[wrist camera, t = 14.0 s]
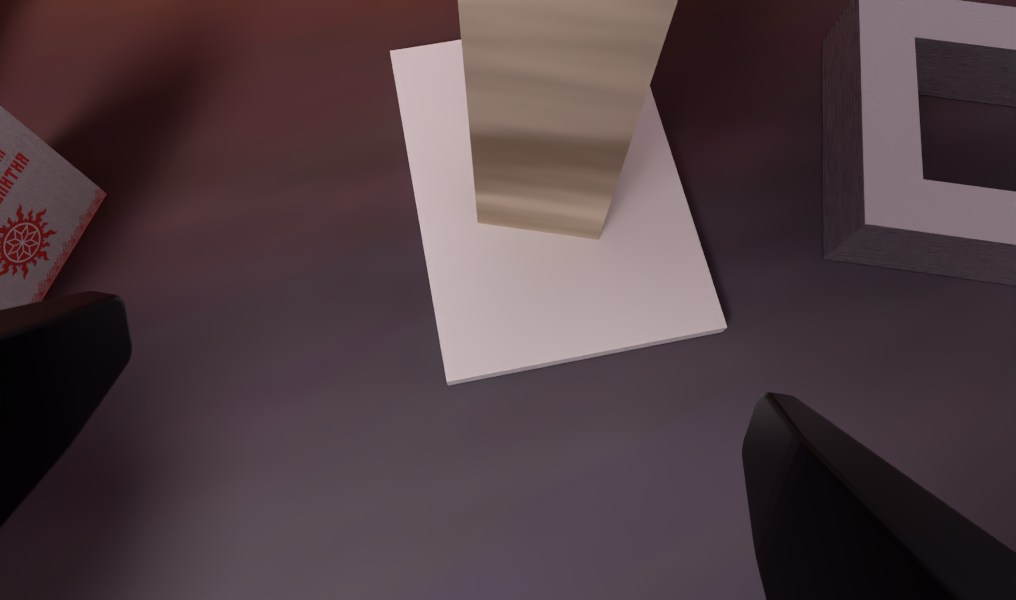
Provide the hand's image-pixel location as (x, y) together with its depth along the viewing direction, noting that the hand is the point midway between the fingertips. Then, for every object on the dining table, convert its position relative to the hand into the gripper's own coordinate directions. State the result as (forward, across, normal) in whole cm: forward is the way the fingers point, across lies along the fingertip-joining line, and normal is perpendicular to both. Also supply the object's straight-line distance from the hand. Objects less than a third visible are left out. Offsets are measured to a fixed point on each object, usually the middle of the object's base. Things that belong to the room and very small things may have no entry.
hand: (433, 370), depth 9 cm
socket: (+20, -17, 0) cm, 26 cm away
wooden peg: (+17, -1, +2) cm, 17 cm away
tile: (+17, -1, +2) cm, 17 cm away
